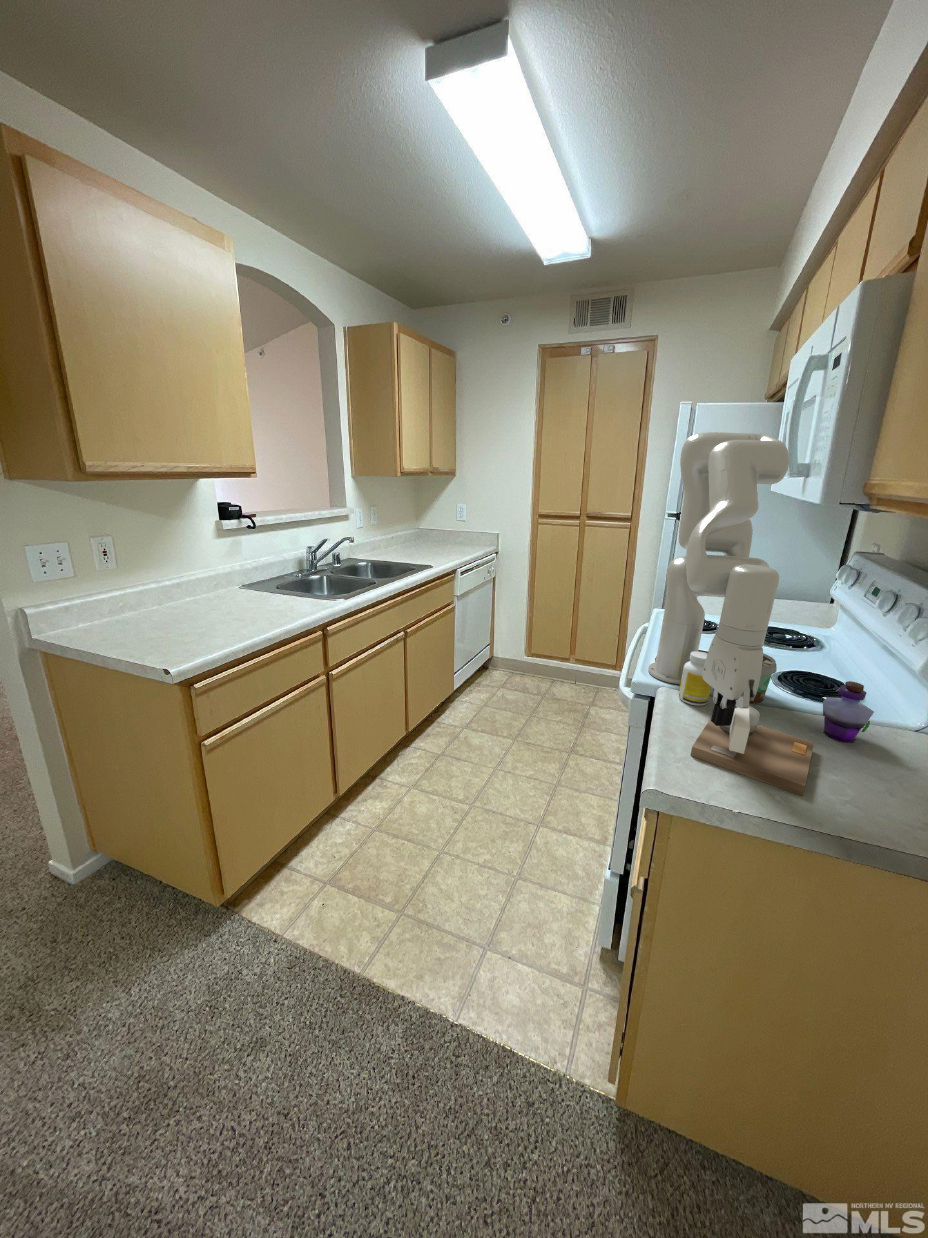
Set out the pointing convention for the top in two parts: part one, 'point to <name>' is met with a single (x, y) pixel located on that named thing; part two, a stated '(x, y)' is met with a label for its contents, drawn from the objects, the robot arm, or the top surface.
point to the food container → (764, 678)
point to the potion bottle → (846, 713)
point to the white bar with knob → (742, 728)
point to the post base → (759, 755)
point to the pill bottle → (694, 681)
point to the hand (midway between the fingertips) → (720, 723)
